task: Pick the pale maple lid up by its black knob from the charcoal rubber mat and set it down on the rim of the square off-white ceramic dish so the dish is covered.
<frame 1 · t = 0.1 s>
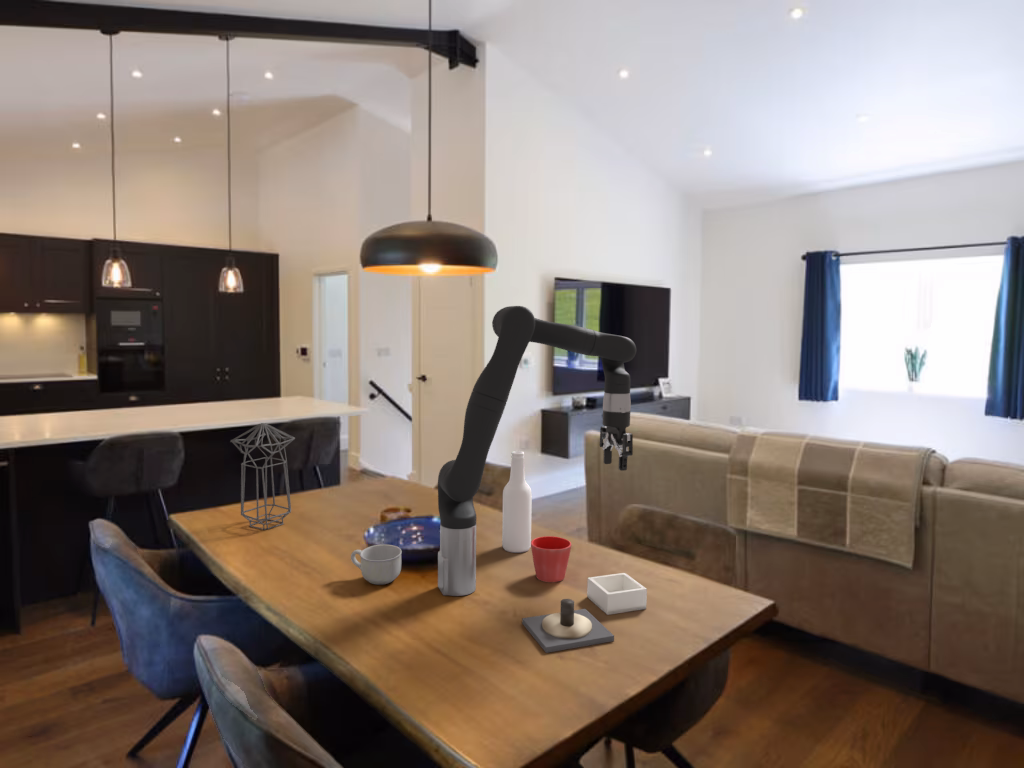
hand: (614, 466, 177), 29 cm above the table, fingers open, 8 cm apart
mat: (566, 631, 142), on the table
teacup: (376, 580, 170), on the table
lid: (566, 626, 141), point 1 cm above the table, touching mat
alcohol: (516, 549, 195), on the table
dish: (616, 602, 157), on the table
geometric lantern: (264, 526, 213), on the table
flower pot: (550, 577, 173), on the table
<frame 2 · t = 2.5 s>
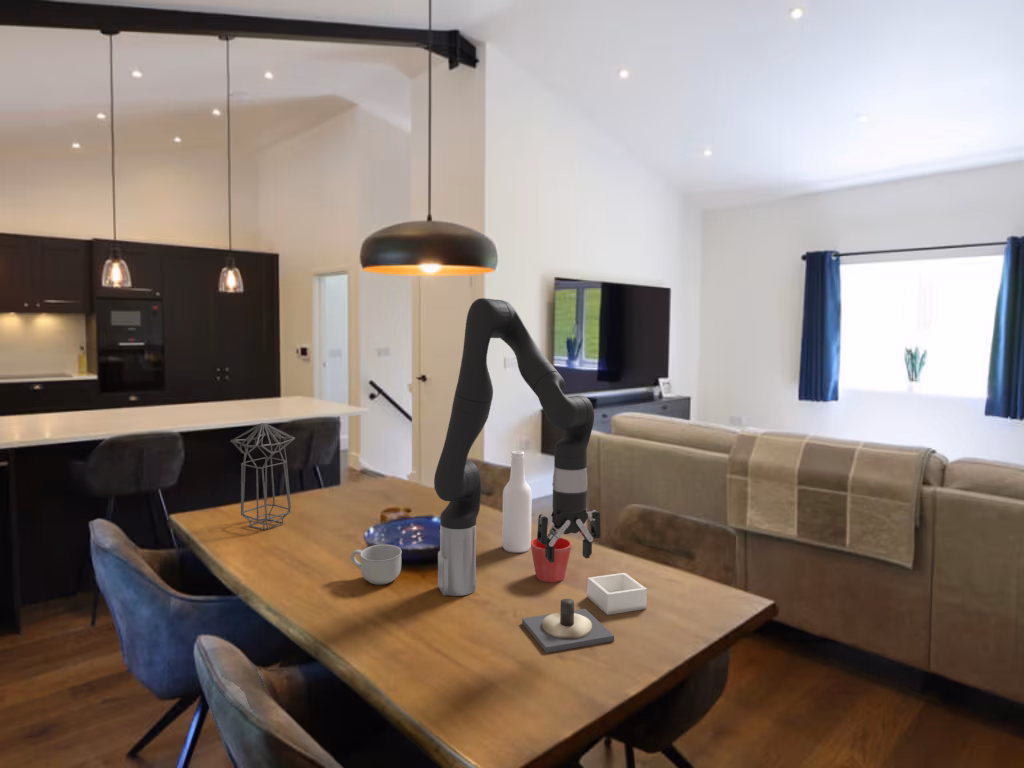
hand: (568, 559, 140), 17 cm above the table, fingers open, 8 cm apart
nothing on the table moved.
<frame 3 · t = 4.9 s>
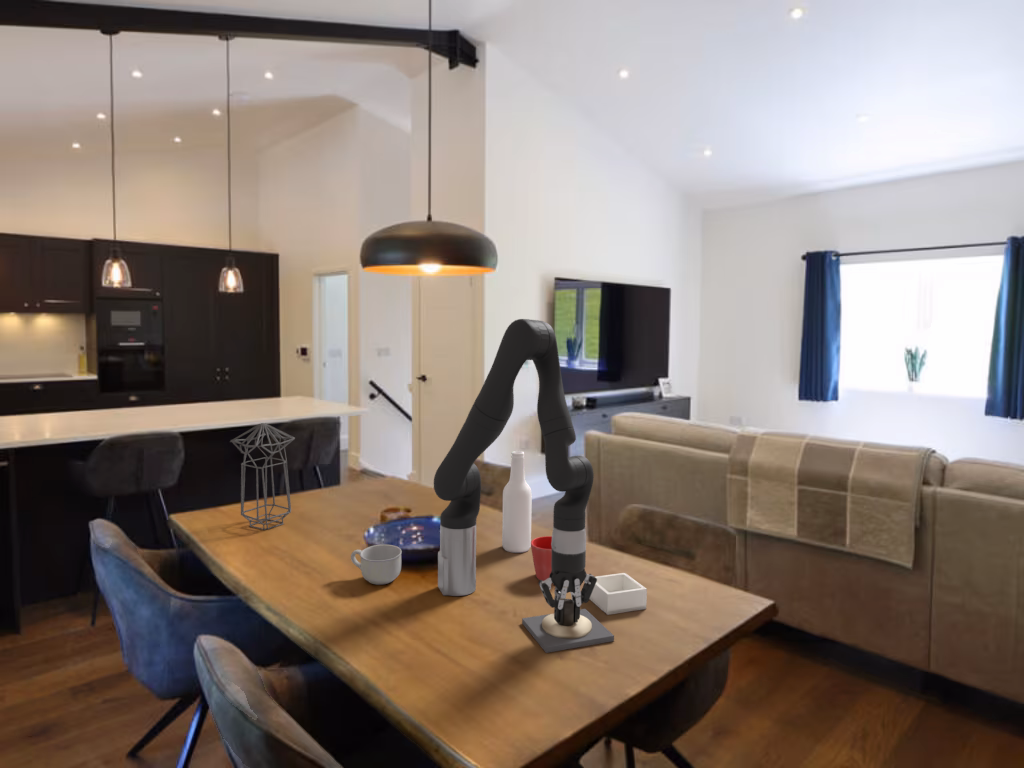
hand: (567, 621, 141), 2 cm above the table, fingers closed on lid, 3 cm apart
lid: (566, 626, 141), point 1 cm above the table, touching gripper, mat
everything else where it was.
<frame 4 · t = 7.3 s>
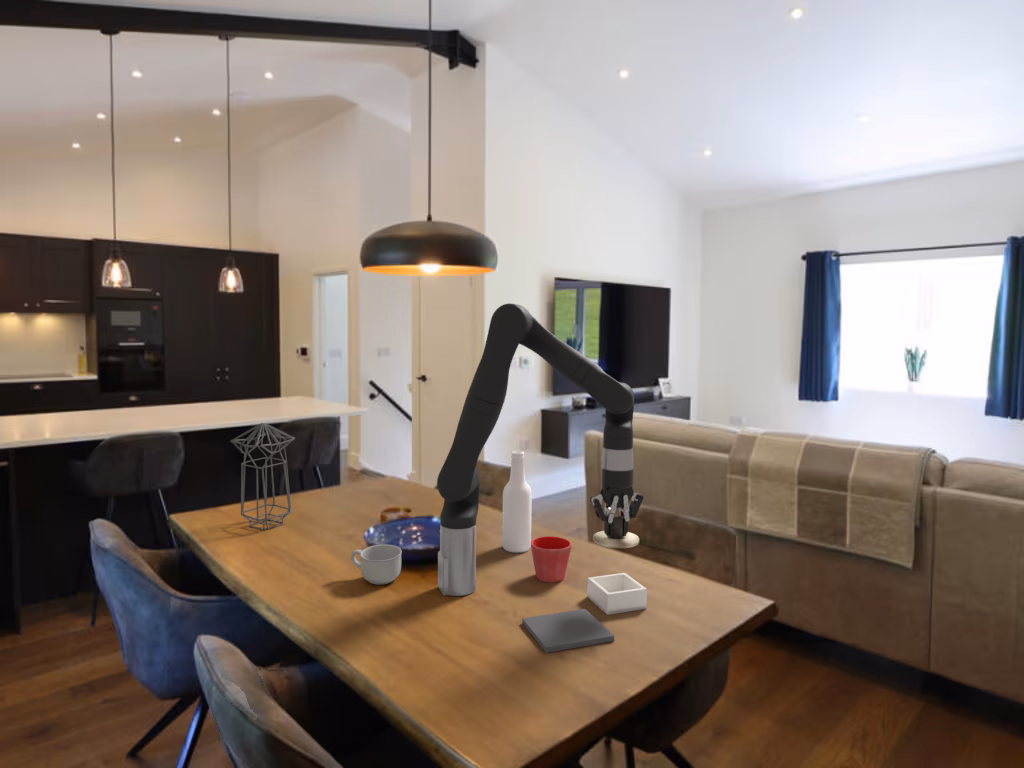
hand: (616, 535, 154), 17 cm above the table, fingers closed on lid, 3 cm apart
lid: (616, 540, 154), point 16 cm above the table, touching gripper
everything else where it was.
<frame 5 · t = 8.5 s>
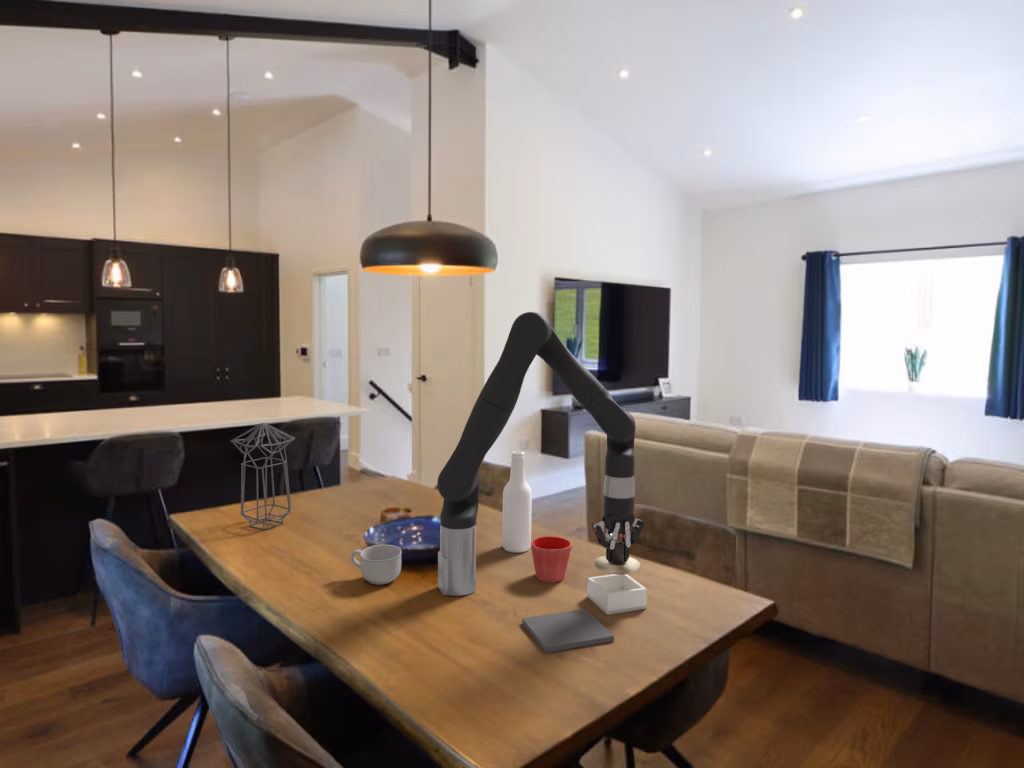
hand: (617, 561, 156), 10 cm above the table, fingers closed on lid, 3 cm apart
lid: (617, 566, 156), point 9 cm above the table, touching gripper
everything else where it was.
when the fingers open (7 cm above the table, at t = 9.6 s): lid drops 1 cm, resting on dish.
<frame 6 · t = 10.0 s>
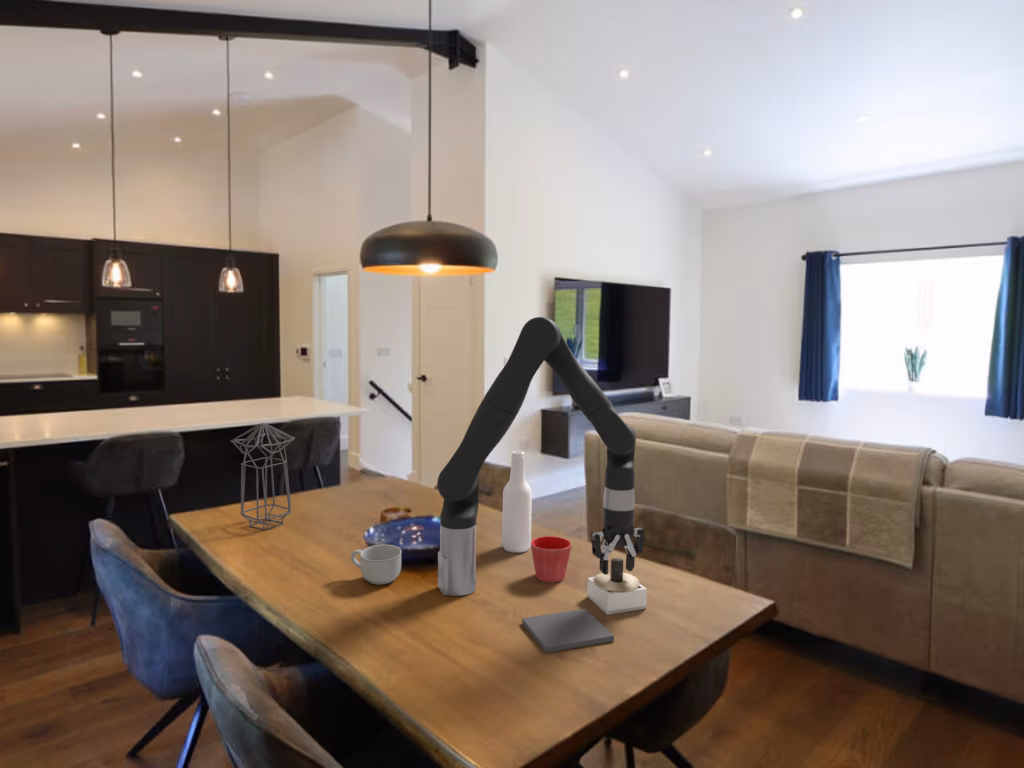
hand: (617, 571, 156), 8 cm above the table, fingers open, 6 cm apart
lid: (616, 583, 157), point 5 cm above the table, touching dish
everything else where it was.
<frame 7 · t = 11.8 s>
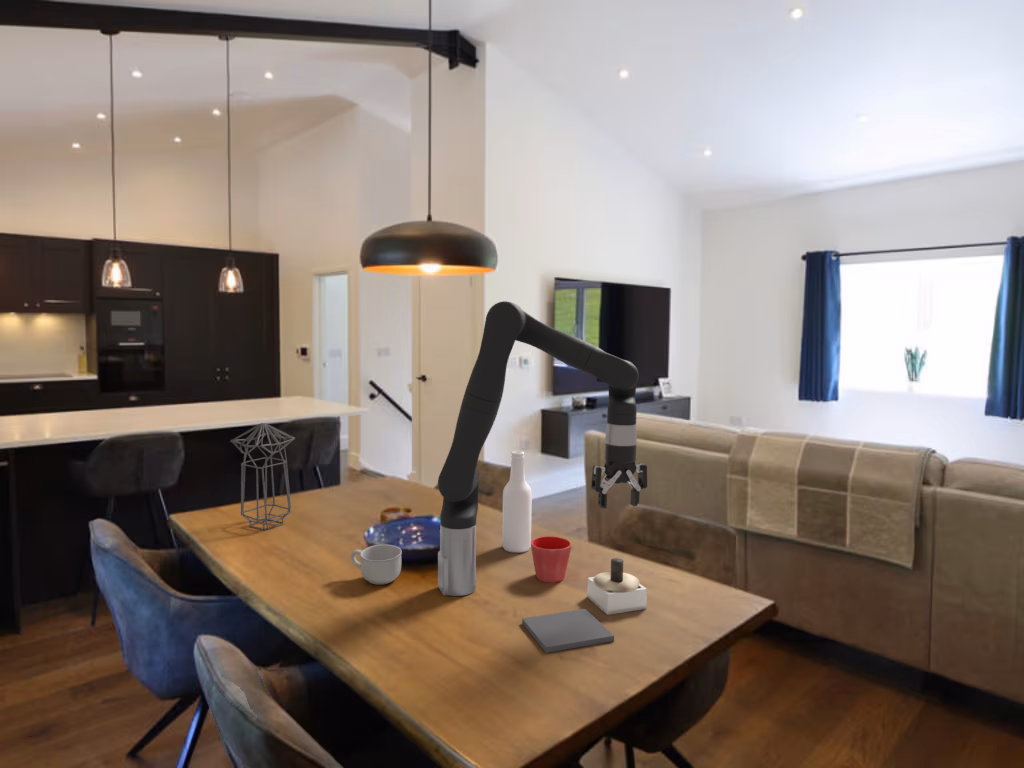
hand: (618, 506, 157), 24 cm above the table, fingers open, 8 cm apart
nothing on the table moved.
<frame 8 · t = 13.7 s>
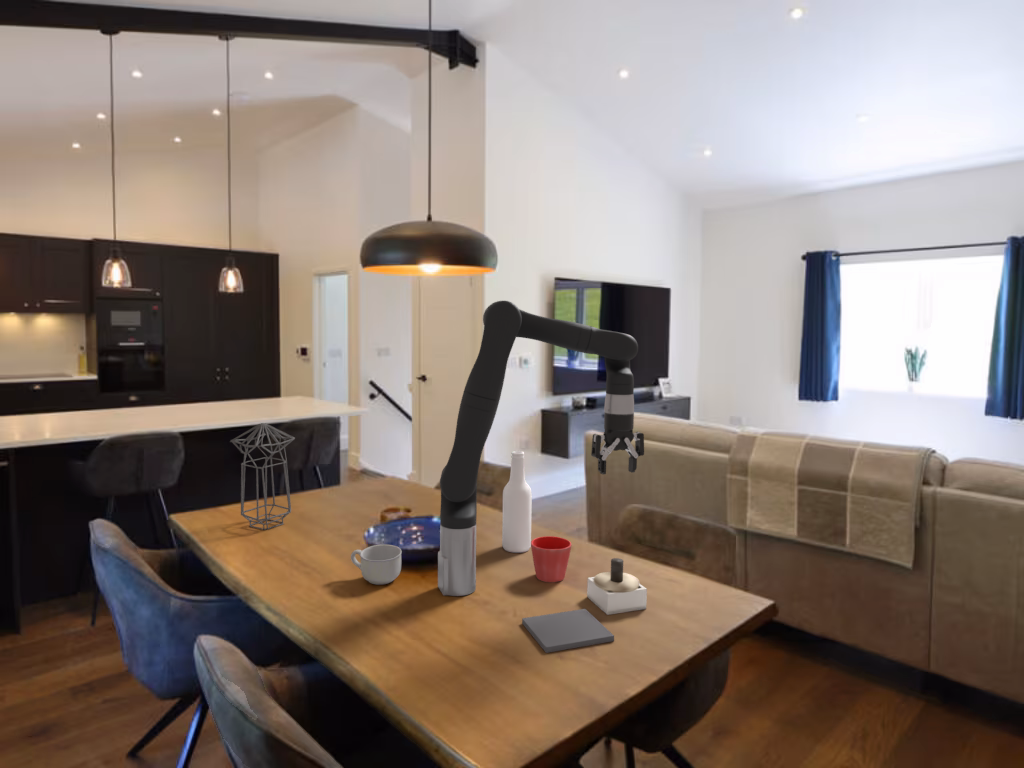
hand: (617, 472, 165), 30 cm above the table, fingers open, 8 cm apart
nothing on the table moved.
at the end: lid 0.1 cm off-centre on the dish, point 5.0 cm above the dish's base; lid tilted 0°; the gripper is holding nothing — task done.
